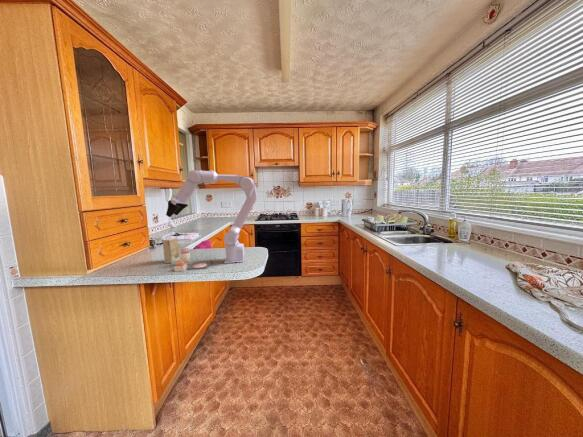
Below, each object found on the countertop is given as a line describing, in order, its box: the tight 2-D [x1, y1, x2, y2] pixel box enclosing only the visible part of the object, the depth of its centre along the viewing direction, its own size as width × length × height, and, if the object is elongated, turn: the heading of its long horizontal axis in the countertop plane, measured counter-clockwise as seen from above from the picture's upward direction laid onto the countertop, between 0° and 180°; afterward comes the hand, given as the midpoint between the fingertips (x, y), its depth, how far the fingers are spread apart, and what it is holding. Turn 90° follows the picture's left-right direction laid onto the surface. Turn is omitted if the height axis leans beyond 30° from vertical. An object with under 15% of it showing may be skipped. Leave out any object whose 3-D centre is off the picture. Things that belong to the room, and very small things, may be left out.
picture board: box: [186, 260, 213, 270], centre depth 114 cm, size 9×10×1 cm
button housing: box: [173, 263, 188, 272], centre depth 109 cm, size 4×4×2 cm
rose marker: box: [180, 247, 192, 266], centre depth 117 cm, size 4×4×8 cm
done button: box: [175, 260, 185, 266], centre depth 109 cm, size 3×3×2 cm
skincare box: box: [162, 237, 180, 264], centre depth 122 cm, size 6×4×12 cm
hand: (171, 215), depth 114 cm, fingers open, 7 cm apart
